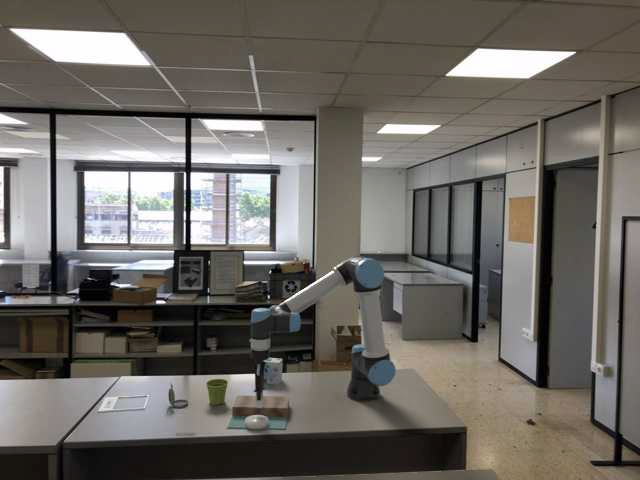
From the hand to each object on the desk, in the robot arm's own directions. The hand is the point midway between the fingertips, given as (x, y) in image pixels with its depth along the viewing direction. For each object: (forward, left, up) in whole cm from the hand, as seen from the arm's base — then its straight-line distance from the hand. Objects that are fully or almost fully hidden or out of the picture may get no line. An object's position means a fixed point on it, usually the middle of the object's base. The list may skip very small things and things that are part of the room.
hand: (259, 407), depth 191 cm
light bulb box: (0, -44, -6) cm, 44 cm away
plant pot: (+20, -17, -5) cm, 26 cm away
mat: (0, +3, -5) cm, 6 cm away
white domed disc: (0, +5, -5) cm, 7 cm away
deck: (0, -9, -5) cm, 10 cm away
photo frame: (+58, -13, -6) cm, 60 cm away
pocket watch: (+36, -13, -6) cm, 39 cm away
